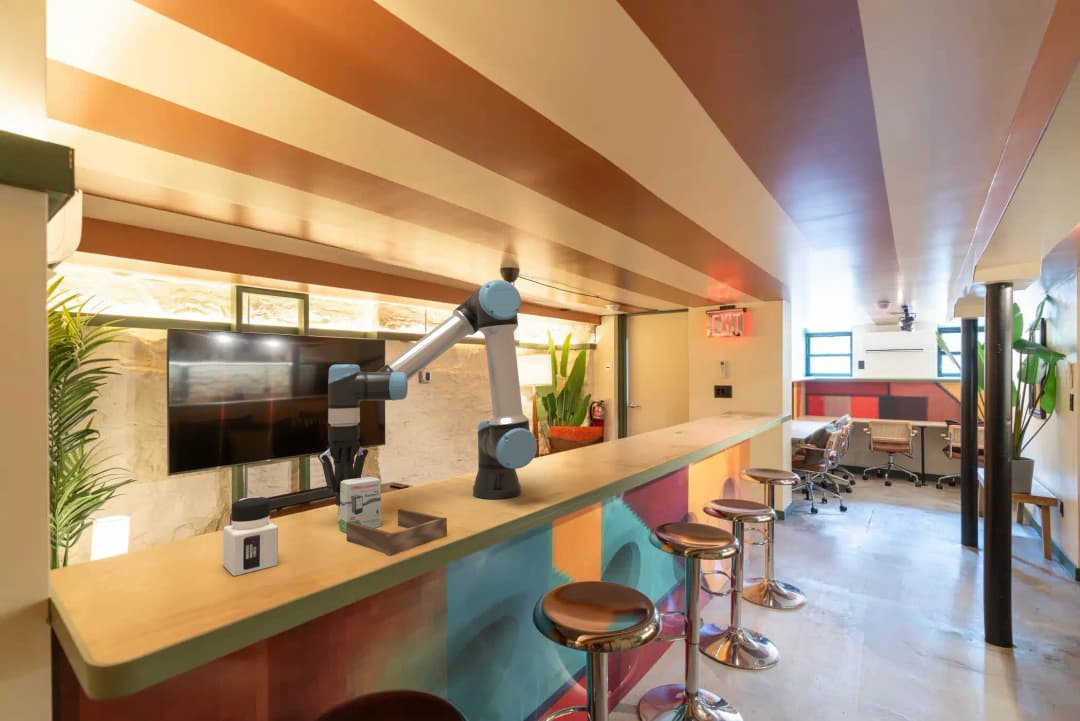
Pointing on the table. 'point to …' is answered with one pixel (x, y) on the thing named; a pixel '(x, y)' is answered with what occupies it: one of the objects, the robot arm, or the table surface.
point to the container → (250, 537)
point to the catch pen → (399, 532)
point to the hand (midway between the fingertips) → (343, 517)
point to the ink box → (360, 502)
